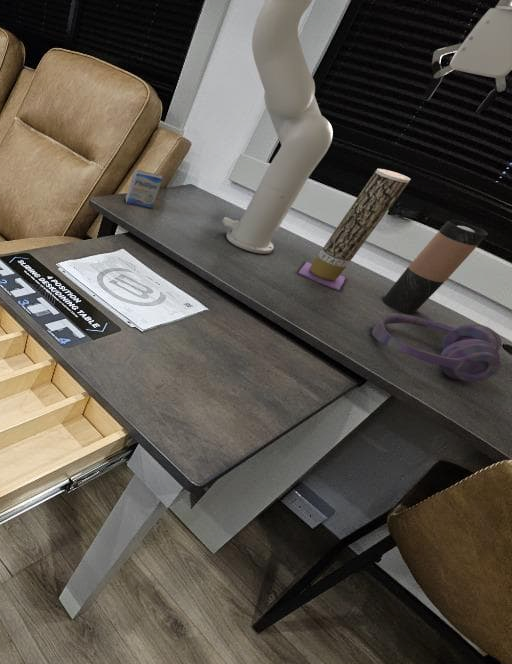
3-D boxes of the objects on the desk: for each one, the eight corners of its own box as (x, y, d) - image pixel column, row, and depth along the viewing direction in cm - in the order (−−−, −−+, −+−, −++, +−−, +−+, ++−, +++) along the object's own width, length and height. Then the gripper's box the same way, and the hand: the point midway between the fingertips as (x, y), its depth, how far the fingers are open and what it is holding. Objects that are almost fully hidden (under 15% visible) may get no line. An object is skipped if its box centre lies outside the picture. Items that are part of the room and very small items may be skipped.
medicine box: (125, 203, 135) (136, 173, 129) (125, 198, 138) (135, 168, 132) (151, 208, 134) (163, 178, 129) (150, 203, 138) (161, 174, 132)
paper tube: (312, 265, 120) (380, 167, 103) (339, 277, 117) (413, 177, 100) (304, 272, 116) (373, 170, 99) (332, 284, 113) (407, 181, 96)
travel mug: (422, 317, 108) (496, 238, 94) (390, 309, 108) (459, 229, 95) (407, 300, 114) (475, 224, 100) (376, 293, 114) (440, 216, 101)
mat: (297, 273, 116) (298, 272, 115) (305, 262, 122) (306, 261, 122) (338, 290, 112) (339, 289, 111) (344, 278, 118) (345, 277, 118)
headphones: (485, 360, 95) (373, 326, 106) (513, 326, 90) (393, 294, 101) (481, 397, 84) (357, 355, 95) (513, 361, 79) (378, 320, 90)
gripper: (580, 12, 84) (499, 116, 95) (471, -3, 91) (408, 95, 103) (585, 9, 79) (500, 119, 91) (469, -7, 87) (404, 96, 98)
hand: (451, 106), depth 97 cm, fingers open, 9 cm apart
